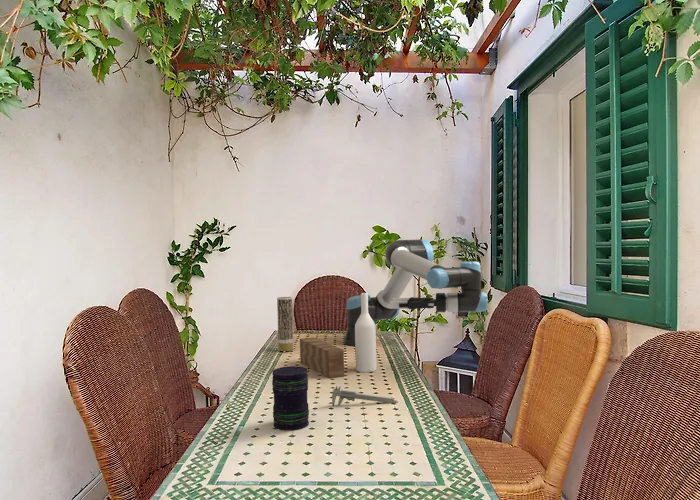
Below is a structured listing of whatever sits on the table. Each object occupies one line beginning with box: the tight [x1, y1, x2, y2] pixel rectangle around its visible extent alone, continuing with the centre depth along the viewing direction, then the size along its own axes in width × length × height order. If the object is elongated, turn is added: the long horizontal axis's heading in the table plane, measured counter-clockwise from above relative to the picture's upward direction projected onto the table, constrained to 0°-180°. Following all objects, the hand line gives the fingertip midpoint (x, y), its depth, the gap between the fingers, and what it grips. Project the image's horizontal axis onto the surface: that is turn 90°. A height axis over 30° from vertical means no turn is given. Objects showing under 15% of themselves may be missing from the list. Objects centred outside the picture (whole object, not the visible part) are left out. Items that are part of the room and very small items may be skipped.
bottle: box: [354, 292, 377, 373], centre depth 204 cm, size 8×8×30 cm
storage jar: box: [271, 365, 310, 432], centre depth 144 cm, size 10×10×15 cm
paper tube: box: [276, 296, 294, 352], centre depth 244 cm, size 7×7×25 cm
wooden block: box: [299, 337, 345, 380], centre depth 207 cm, size 30×6×10 cm, turn 26°
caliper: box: [331, 385, 399, 407], centre depth 161 cm, size 20×1×6 cm, turn 96°
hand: (391, 303), depth 207 cm, fingers open, 13 cm apart
